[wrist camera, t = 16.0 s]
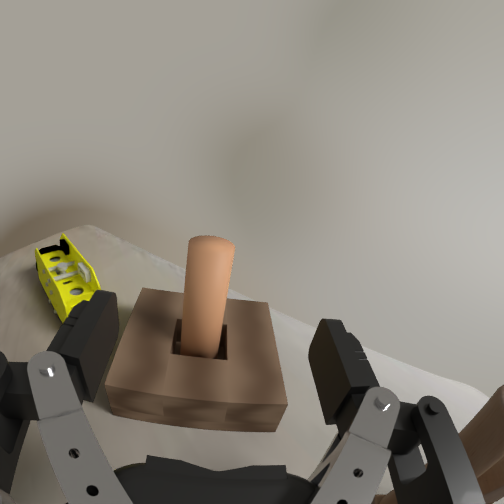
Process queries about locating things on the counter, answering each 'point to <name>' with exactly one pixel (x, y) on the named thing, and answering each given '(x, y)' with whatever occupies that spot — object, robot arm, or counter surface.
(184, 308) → the pin
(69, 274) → the yellow toy chassis
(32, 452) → the counter surface
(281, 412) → the socket block
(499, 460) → the wooden block
